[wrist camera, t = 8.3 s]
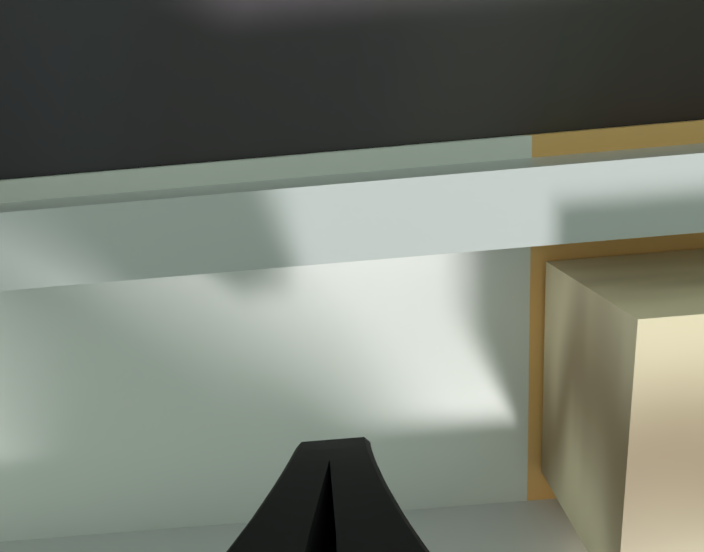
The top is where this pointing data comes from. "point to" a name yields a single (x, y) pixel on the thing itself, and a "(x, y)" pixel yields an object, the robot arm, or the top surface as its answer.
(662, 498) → the block
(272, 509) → the robot arm
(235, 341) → the chute
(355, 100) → the top surface
